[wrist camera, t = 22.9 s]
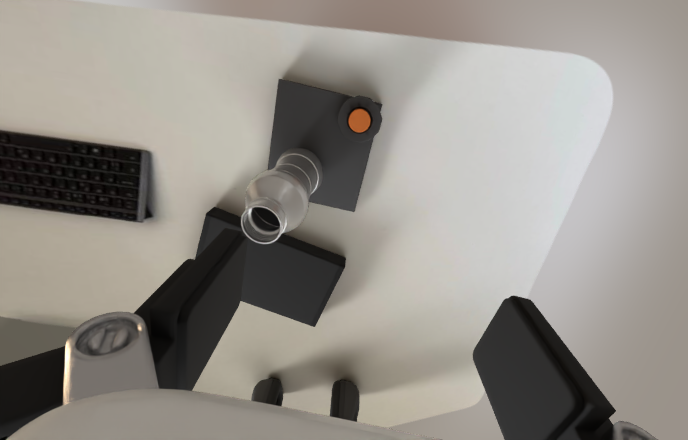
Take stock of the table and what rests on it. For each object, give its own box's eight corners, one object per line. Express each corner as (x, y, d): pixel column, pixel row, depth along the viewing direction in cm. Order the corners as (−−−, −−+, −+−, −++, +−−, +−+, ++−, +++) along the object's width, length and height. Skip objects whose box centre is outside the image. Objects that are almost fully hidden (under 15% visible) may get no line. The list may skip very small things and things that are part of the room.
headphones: (359, 378, 63) (359, 496, 45) (359, 398, 66) (359, 518, 48) (256, 375, 64) (214, 489, 46) (260, 395, 67) (222, 511, 49)
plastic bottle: (292, 195, 46) (247, 267, 27) (272, 153, 43) (209, 202, 25) (331, 181, 44) (311, 247, 26) (313, 137, 42) (277, 176, 24)
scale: (281, 76, 40) (275, 75, 38) (384, 101, 41) (386, 102, 38) (267, 189, 47) (261, 195, 44) (356, 209, 48) (356, 216, 45)
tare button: (351, 106, 39) (351, 107, 38) (372, 111, 39) (373, 112, 38) (346, 128, 40) (346, 129, 39) (367, 133, 40) (367, 134, 39)
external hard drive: (316, 316, 57) (314, 327, 54) (197, 273, 54) (188, 283, 51) (345, 257, 51) (344, 266, 48) (214, 206, 49) (205, 213, 46)
